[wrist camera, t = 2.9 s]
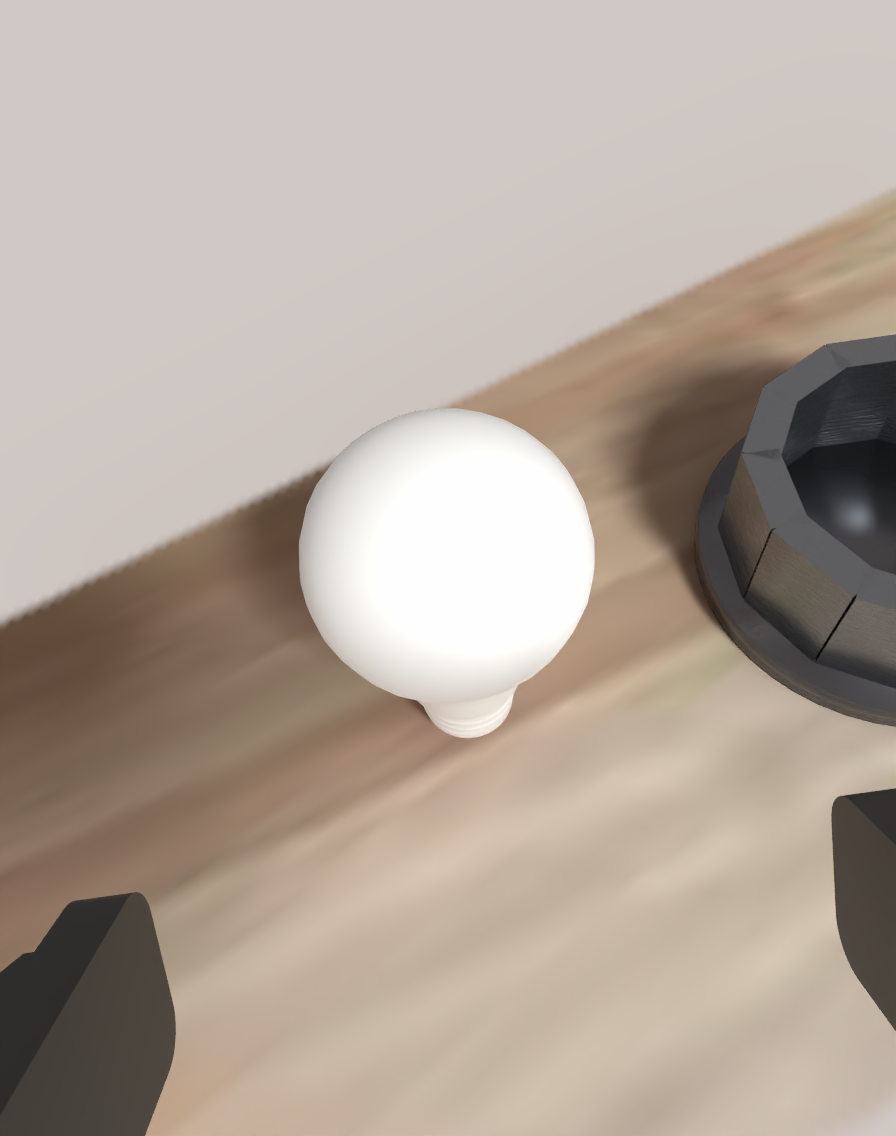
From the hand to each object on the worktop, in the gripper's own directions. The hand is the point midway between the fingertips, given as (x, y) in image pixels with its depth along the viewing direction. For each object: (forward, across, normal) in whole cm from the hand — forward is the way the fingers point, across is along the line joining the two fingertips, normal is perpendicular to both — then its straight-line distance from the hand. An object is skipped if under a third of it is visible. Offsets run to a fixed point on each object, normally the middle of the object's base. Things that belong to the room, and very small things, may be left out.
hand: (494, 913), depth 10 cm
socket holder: (+16, -13, +1) cm, 21 cm away
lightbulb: (+14, 0, +3) cm, 15 cm away
